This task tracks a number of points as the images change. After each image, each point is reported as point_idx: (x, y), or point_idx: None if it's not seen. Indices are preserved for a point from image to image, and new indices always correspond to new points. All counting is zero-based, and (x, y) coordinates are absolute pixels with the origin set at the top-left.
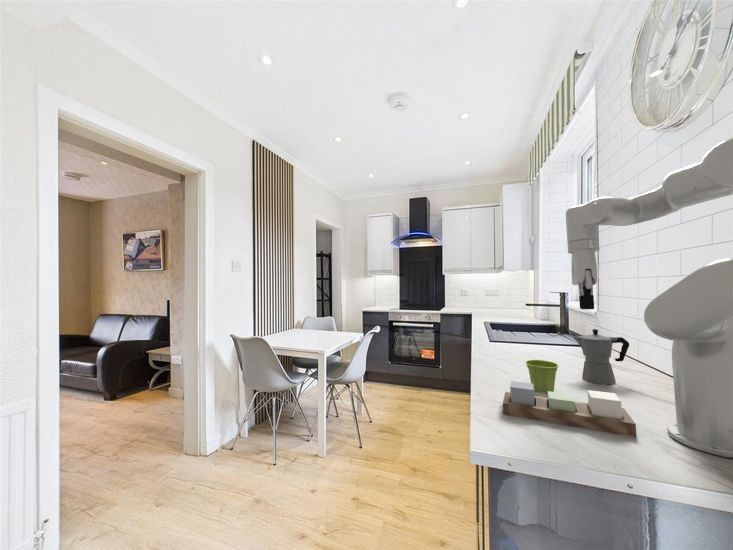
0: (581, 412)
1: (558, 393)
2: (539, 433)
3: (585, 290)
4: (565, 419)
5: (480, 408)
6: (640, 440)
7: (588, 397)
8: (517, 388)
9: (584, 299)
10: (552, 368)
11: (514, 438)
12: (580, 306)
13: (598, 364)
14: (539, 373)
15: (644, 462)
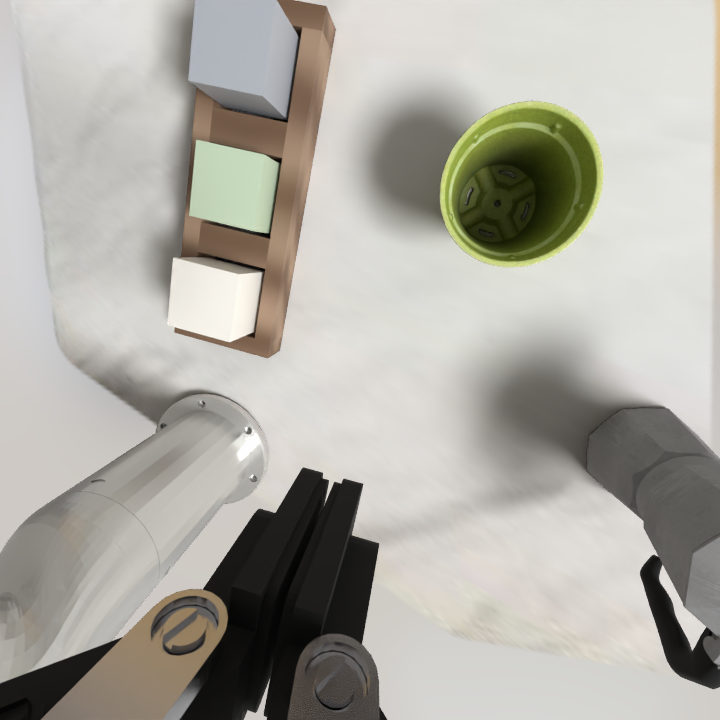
0: (204, 232)
1: (250, 187)
2: (141, 105)
3: (17, 689)
4: None
5: None
6: None
7: (237, 270)
8: (194, 17)
9: (221, 567)
10: (444, 222)
11: (93, 30)
12: (308, 482)
13: (636, 477)
14: (458, 169)
15: (97, 286)
